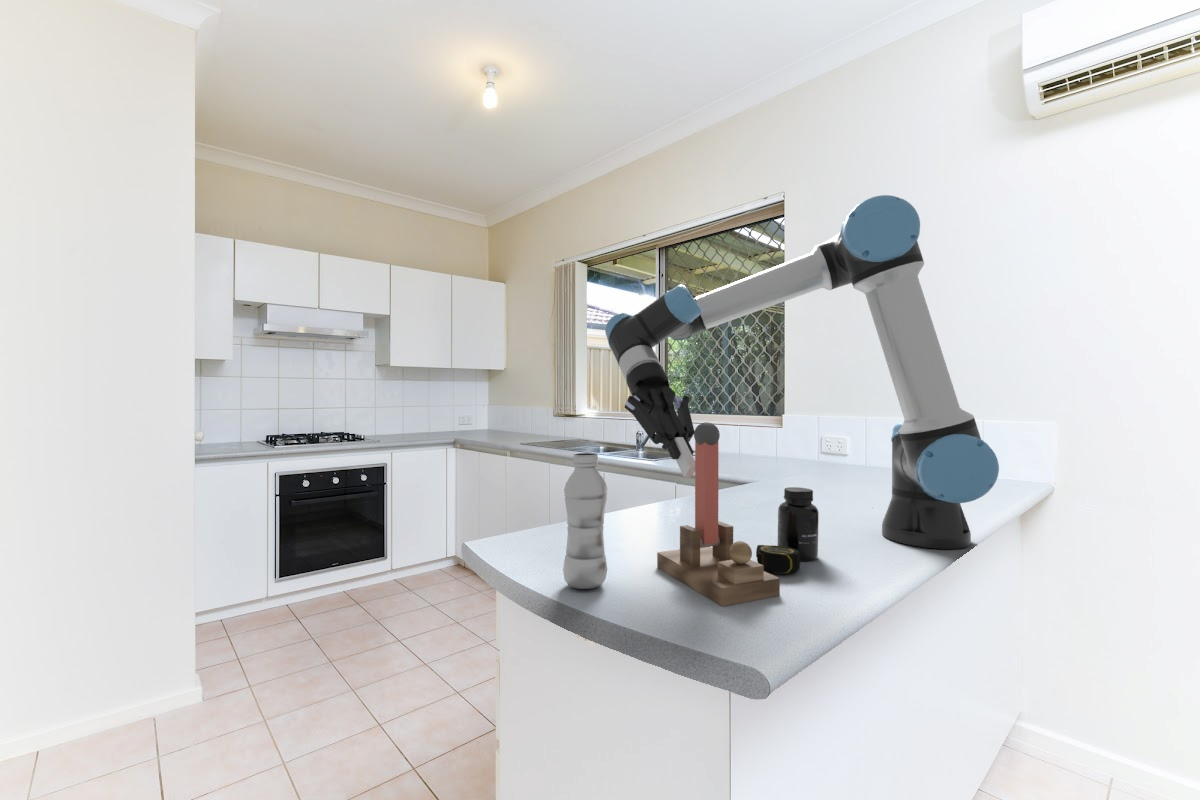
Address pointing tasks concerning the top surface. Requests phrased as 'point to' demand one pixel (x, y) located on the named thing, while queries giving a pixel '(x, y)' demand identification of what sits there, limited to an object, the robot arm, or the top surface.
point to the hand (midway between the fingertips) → (690, 472)
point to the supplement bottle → (799, 522)
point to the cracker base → (707, 569)
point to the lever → (706, 483)
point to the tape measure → (778, 559)
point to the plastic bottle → (585, 524)
